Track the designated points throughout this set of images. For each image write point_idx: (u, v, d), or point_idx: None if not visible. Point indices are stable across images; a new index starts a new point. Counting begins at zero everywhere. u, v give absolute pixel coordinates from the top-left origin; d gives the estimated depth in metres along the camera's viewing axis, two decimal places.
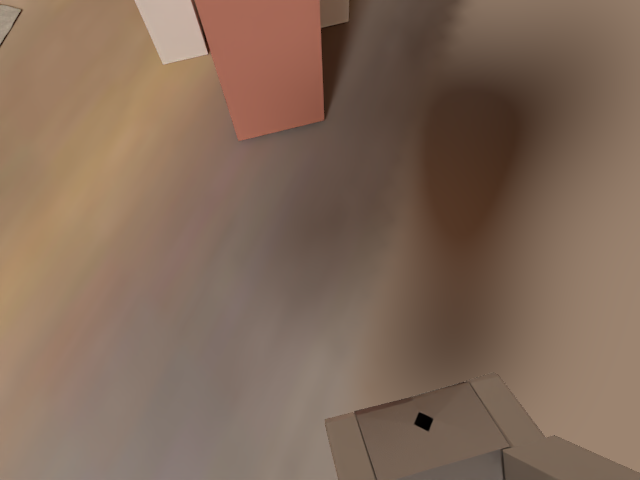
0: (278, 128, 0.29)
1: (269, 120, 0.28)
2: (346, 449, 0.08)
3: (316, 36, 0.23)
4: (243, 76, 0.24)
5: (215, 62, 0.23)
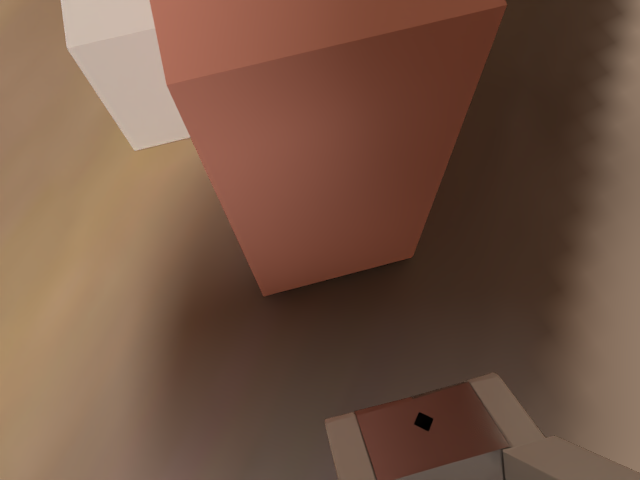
0: (334, 274, 0.16)
1: (320, 269, 0.15)
2: (346, 449, 0.08)
3: (443, 151, 0.11)
4: (283, 222, 0.12)
5: (226, 209, 0.11)
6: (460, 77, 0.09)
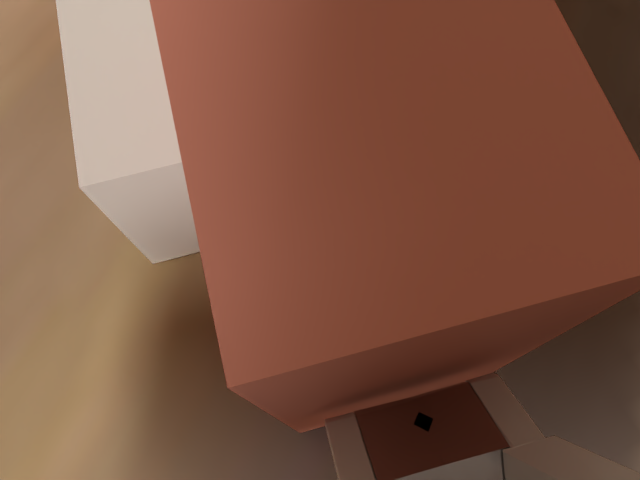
0: None
1: None
2: (346, 449, 0.08)
3: (543, 340, 0.09)
4: (340, 405, 0.10)
5: (277, 415, 0.09)
6: (597, 307, 0.07)
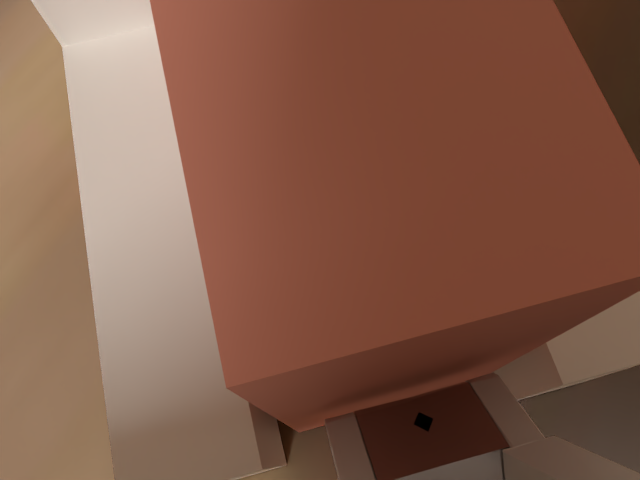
0: None
1: None
2: (346, 449, 0.08)
3: (541, 341, 0.09)
4: (338, 405, 0.10)
5: (276, 415, 0.09)
6: (595, 308, 0.07)
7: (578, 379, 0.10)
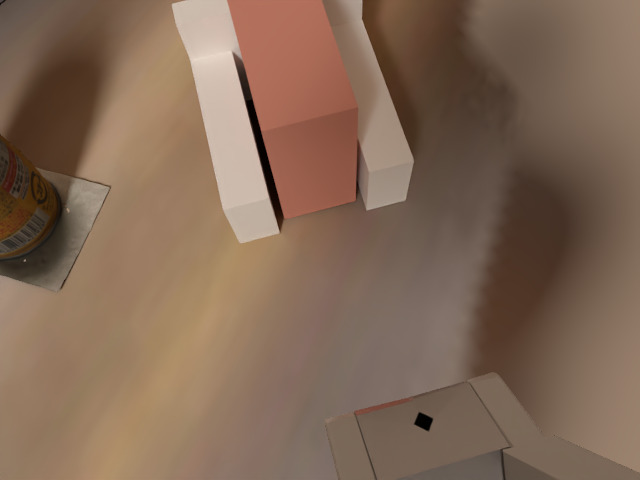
0: (318, 208, 0.35)
1: (310, 204, 0.34)
2: (346, 449, 0.08)
3: (353, 149, 0.29)
4: (294, 178, 0.30)
5: (273, 171, 0.29)
6: (350, 125, 0.27)
7: (374, 171, 0.31)
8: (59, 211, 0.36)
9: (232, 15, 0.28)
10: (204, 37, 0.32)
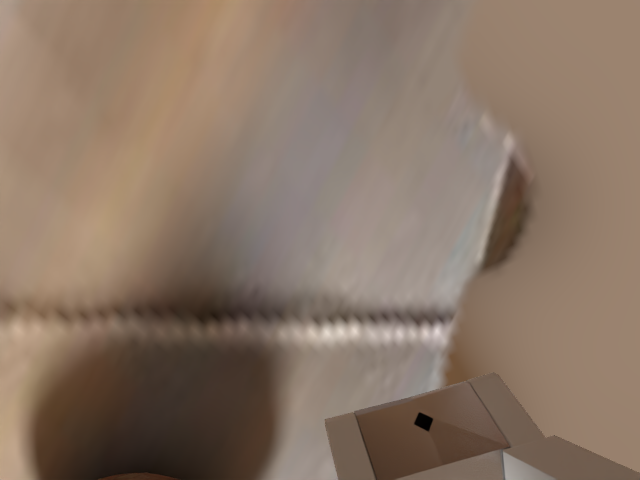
0: None
1: None
2: (346, 449, 0.08)
3: None
4: None
5: None
6: None
7: None
8: None
9: None
10: None
